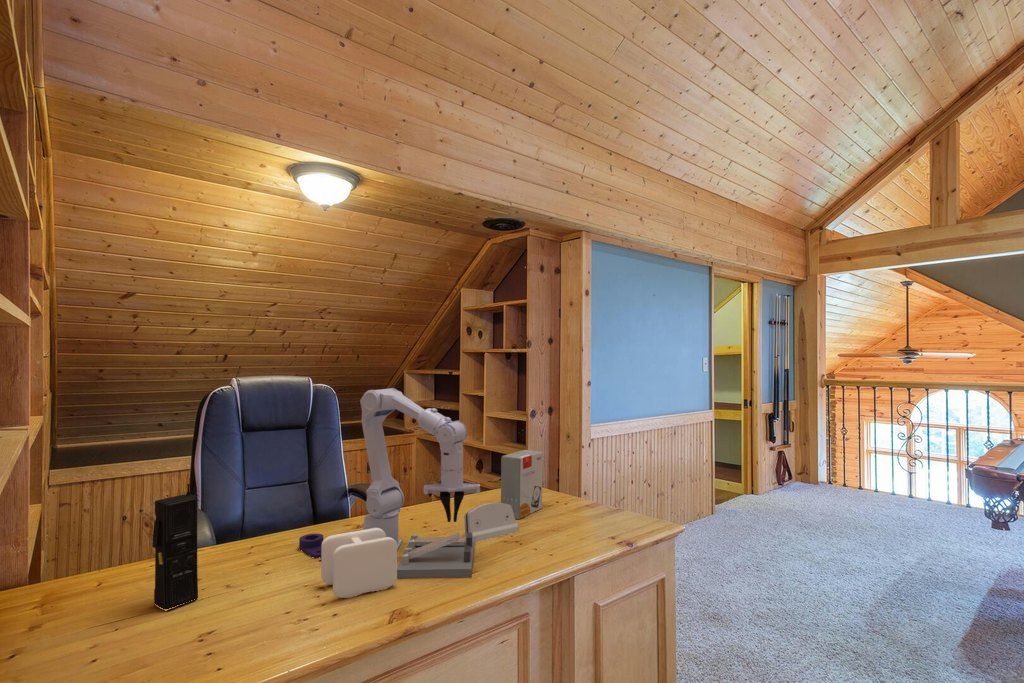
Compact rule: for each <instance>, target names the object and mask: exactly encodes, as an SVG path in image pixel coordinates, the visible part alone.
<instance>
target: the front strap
mask: <svg viewBox="0 0 1024 683" xmlns="http://www.w3.org/2000/svg"><path fill="white" fill-rule="evenodd" d="M460 537H461V535H460V532H457V533H454V534H451V535H448V536H446V537H445V538H443V539H440V540H438V541H435V542H432V543H430V544H427V545H424V546H422V547H419V548H416V549H414V550H411V551H406V553H405V555H409V559H411V558H414V557H417V556H419V555H422V554H425V553H427V552H430V551H433V550H435V549H438V548H440V547H443V546H446V545H448V544H451V543H454V542H456V541H459V540H460Z"/></svg>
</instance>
